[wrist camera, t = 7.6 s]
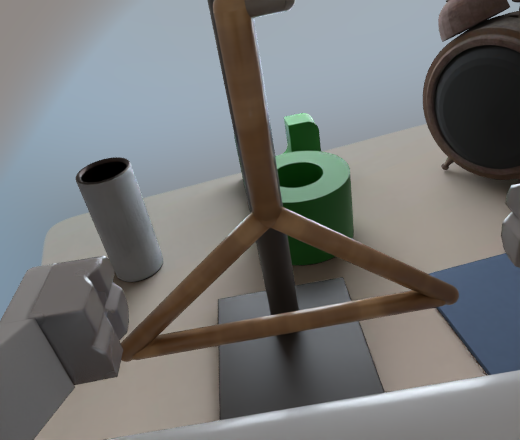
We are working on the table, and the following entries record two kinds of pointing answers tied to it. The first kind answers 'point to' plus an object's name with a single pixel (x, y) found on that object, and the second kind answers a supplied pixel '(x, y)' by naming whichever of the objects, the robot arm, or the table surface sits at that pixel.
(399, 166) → the table surface
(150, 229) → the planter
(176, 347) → the hanger
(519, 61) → the alarm clock
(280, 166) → the green bracket
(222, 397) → the rail
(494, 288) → the mat
